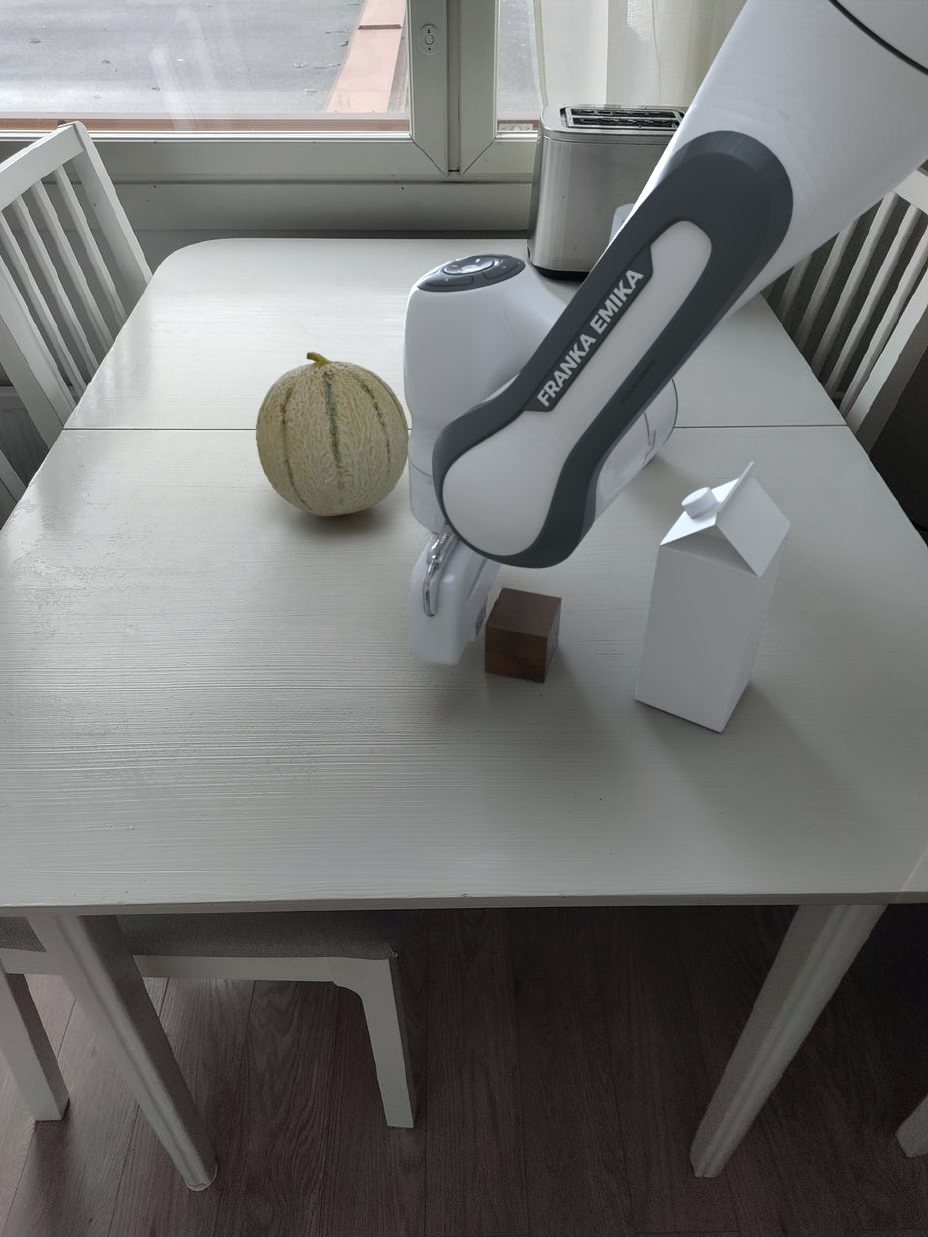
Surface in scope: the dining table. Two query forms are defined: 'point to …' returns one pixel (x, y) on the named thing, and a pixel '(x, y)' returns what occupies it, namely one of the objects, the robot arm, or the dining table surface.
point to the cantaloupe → (332, 437)
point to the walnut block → (522, 634)
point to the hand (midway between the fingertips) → (470, 629)
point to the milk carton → (711, 601)
